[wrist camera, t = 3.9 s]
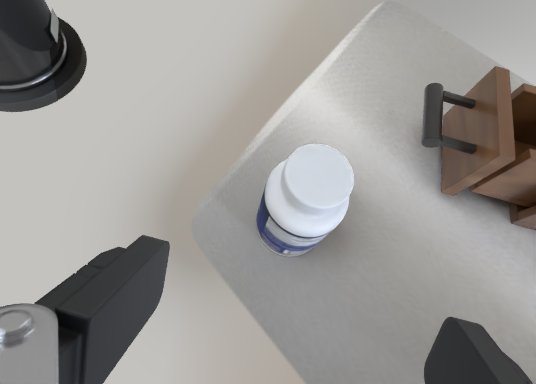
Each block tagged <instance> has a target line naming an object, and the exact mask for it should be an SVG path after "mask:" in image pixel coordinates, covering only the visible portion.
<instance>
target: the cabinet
mask: <svg viewBox="0 0 536 384" xmlns="http://www.w3.org/2000/svg"><path fill="white" fill-rule="evenodd" d="M510 214H511V223H513V224H516V225H520V226H523V227H527V228H531V229H534V230H536V205H535V206H533V207H530V208H529V207H525V206H522V205H518V204H514V203H511V202H510Z"/></svg>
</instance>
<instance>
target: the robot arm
mask: <svg viewBox="0 0 536 384" xmlns="http://www.w3.org/2000/svg"><path fill="white" fill-rule="evenodd" d="M68 54H69V47H68V42H67V40H66V38H65V36H64V34H63V32H62V31H61V29H60V28H59V20H58V18H57V16H56V14H55V13H54V11H53V9H52V14H51V12H50V10H49V8H48V6H47V4H46V2H45V0H0V92H18V91H24V90H28V89H32V88H35V87H38V86H40V85H42V84H44V83H46V82H47V81H49V80H51V79H52V78H53V77H55V76H56V75H57V74H58V73H59V72H60V71H61V69H62V68H63V67H64V65H65V63H66V61H67V58H68ZM169 249H170V245H169V242H168V241H164V240H160V239H156V238H153V237H149V236H145V235H142V236H141V237H139V238H138V239H137V240H136V241H134V242H133V243H132V244H131V245H130V246H128V247H127V248H126V249H125V248H122V247H117V248H114V249H111V250H109V251H106V252H103V253H101V254H99V255H98V256H96V257H95V258H94V259H92V260H91V261H90V262H89V263H88V265H85V266H83V267H82V268H81V269H79V270H78V271H77V273H76V274H75V273H74V274H73V275H71V276H70V277H69V278H67V279H66V280H65V281H63V282H62V283H61V284H59V285H58V286H57V287H55V288H54V289H53V290H51V291H50V292H49V293H48V294H46V295H45V296H44V297H42V298H41V299H40V300H38V301H37V302H35V303H34V304H13V305H7V306H3V307H0V384H103V383H104V381H105V380H106V378H107V377H108V375H109V374H110V372H111V371H112V370H113V369H114V367H115V366H116V364H117V363H118V361H119V360H120V359H121V357H122V356H123V354H124V353H125V352H126V350H127V349H128V347H129V346H130V345H131V343H132V342H133V340H134V339H135V337H136V336H137V335H138V333H139V332H140V331H141V329H142V328H143V326H144V325H145V324H146V322H147V321H148V319H149V318H150V317H151V315H152V314H153V312H154V311H155V309H156V308H157V305H158V303H159V301H160V298H161V295H162V292H163V287H164V281H165V274H166V268H167V262H168V255H169ZM424 379H425V384H533V383H532V382H531V380H530V379H529V378H528V377H527V375H526V374H525V373H524V372H523V370H522V369H521V368H520V367H519V365H518V364H516V363H515V362H514V361H513V360H512V359H511V358H509V357H508V356H507V355H506V354H505V353H504V352H502V351H501V349H500V348H499V347H498V346H497V344H496V343H495V342H494V341H493V339H492V338H491V337H490V335H489V334H488V333H487V332H486V330H485V329H484V328H483V327H482V326H481V325H480V324H477V323H473V322H469V321H465V320H462V319H458V318H454V317H448V318H447V319H446V320H445V321H444V322H443V324H442V326H441V329H440V331H439V333H438V335H437V337H436V340H435V342H434V344H433V346H432V349H431V351H430V353H429V355H428V357H427V360H426V363H425V367H424Z"/></svg>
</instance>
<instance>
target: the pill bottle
mask: <svg viewBox="0 0 536 384" xmlns="http://www.w3.org/2000/svg"><path fill="white" fill-rule="evenodd" d="M353 186H354V173H353V169H352V167H351V165H350V163H349V161H348V160H347V158H346V157H345V156H344V155H343V154H342V153H341V152H339V151H338V150H336V149H335V148H333V147H331V146H328V145H324V144H318V143H312V144H307V145H304V146H301V147H299V148H297V149H296V150H295V151H294V152H292V154H291V155H290V156H289V157H288V159H286V160H284V161H282V162H281V163H280V164H278V165H277V166H276V167H275V168H274V170H273V171H272V172H271V174H270V176H269V178H268V180H267V183H266V186H265V189H264V193H263V196H262V199H261V203H260V206H259V209H258V213H257V218H256V227H257V232H258V235H259V237H260V239H261V240H262V242H263V243H264V244H265V245H266V246H267V247H268V248H269V249H270V250H271V251H273V252H275V253H277V254H279V255H283V256H299V255H302V254H304V253H306V252H308V251H310V250H311V249H312V248H313V247H314V246H316V245H317V244H318V243H319V242H320V241H321V240H322V239H323V238H324V237H325V236H327V235H328V234H329V233H330V232H331V231H332V230H334V228H335V227H336V226H337V225H338V224H339V223H340V222H341V221H342V220H343V218H344V216H345V214H346V212H347V209H348V205H349V195H350V194H351V192H352V189H353Z"/></svg>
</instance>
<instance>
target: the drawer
mask: <svg viewBox="0 0 536 384" xmlns="http://www.w3.org/2000/svg"><path fill="white" fill-rule="evenodd" d="M443 101H444V102H448V103H451V104H455V105H454V106H453V107H452V108H451V109H450V110H449V111H448V112H447V113H446V114H445V115H444V116H443V135H442V115H443ZM422 145H423V146H425V147H429V148H433V147H437V146H439V145H440V146H443V148H442V180H441V192H443V193H446V194H450V195H456V194H457V193H459V192H461V191H462V190H464V189H466V188H468V187H469V186H471V191H472V192H475V193H479V194H482V195H486V196H489V197H493V198H497V199H500V200H504V201H507V202H511V203H514V204H518V205H522V206H525V207H529V208H530V207H533V206H535V205H536V87H535V86H532V85H528V84H525V83H524V84H522V85H521V86H520V87H519V88H517V89H516V90H515V91H514V92H512V93H511V87H510V73H509V70H507V69H504V68H501V67H497V66H495V67H494V68H493V69H492V70H491V71H490V72H489V73H488V74H487V75H486V76H485V77H484V78H483V79H481V80H480V81H479V82H478V83H477V84H476V85H475V86H474V87H473V88H472V89H471V90H470V91H469V92H468V93H467V94H466V95H465V96H460V95H457V94H453V93H450V92H446V91H443V86H442V85H441V84H439V83H431V84H429V85H427V86H426V88H425V94H424V110H423V127H422Z"/></svg>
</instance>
